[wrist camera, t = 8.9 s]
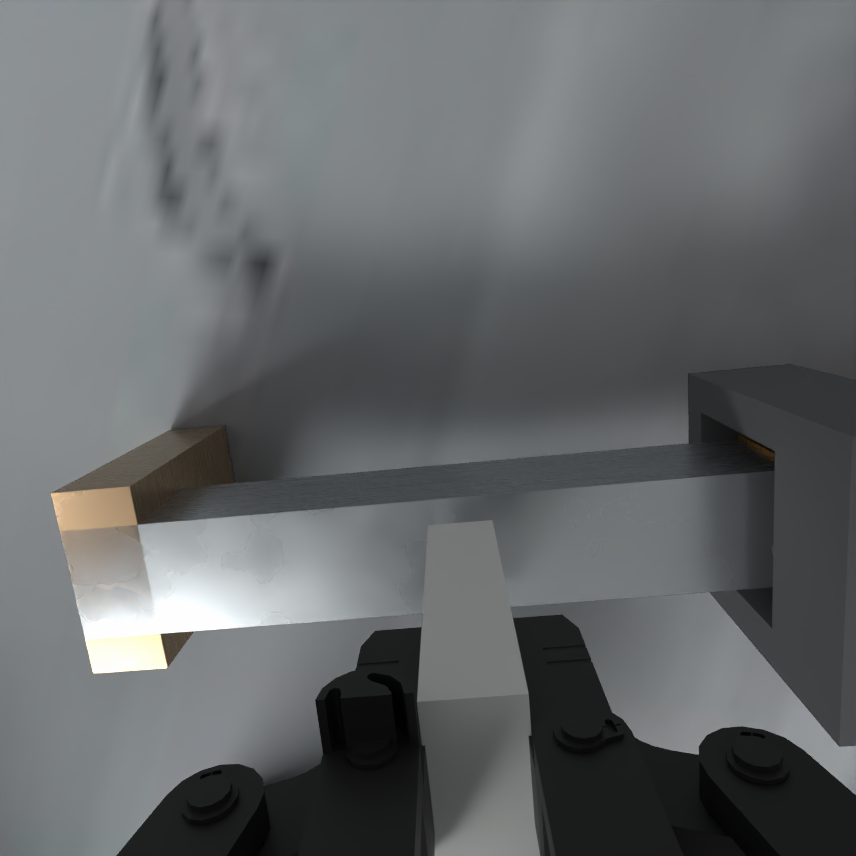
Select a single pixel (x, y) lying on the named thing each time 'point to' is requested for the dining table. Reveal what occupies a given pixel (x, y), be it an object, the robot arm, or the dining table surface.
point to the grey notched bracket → (797, 526)
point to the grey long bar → (395, 536)
